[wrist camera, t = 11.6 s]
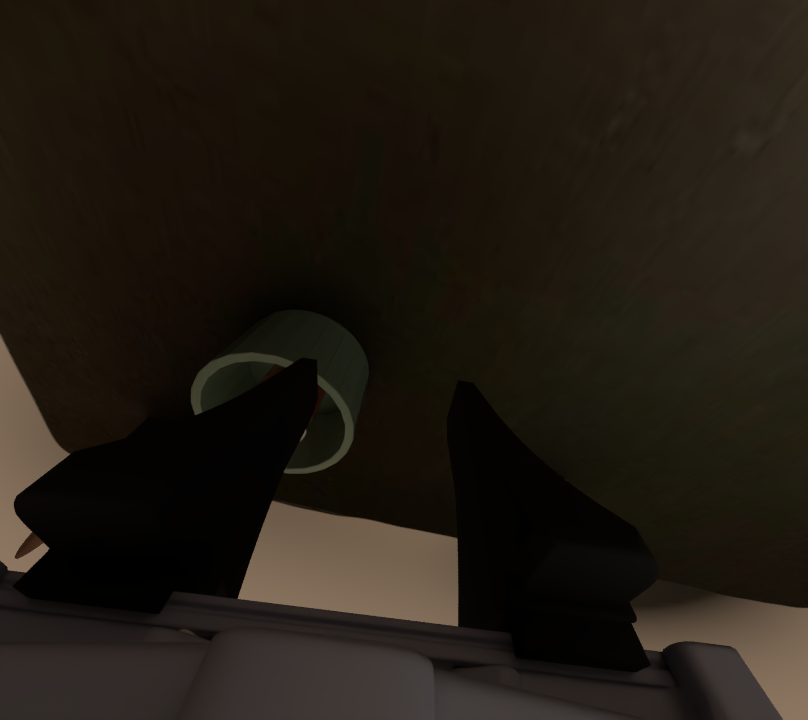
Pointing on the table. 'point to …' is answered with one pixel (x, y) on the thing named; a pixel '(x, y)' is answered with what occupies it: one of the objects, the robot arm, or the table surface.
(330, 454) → the cup
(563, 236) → the table surface
